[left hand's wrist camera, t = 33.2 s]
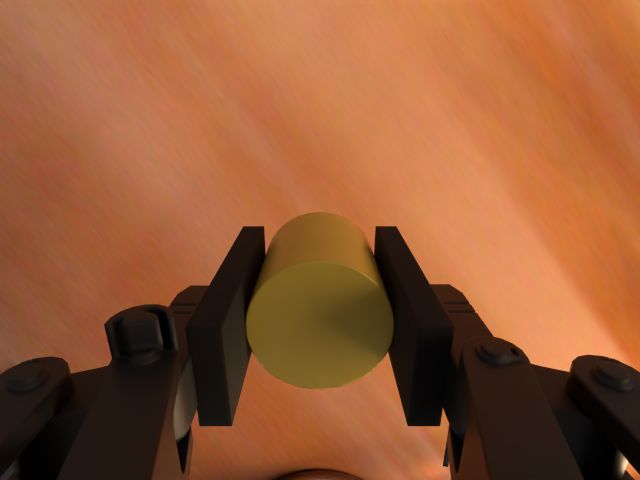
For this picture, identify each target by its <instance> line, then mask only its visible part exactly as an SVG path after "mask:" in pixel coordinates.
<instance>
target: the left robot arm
mask: <svg viewBox="0 0 640 480" xmlns="http://www.w3.org/2000/svg"><path fill="white" fill-rule="evenodd" d="M265 256H266V254H265V236H264V226H244V227H243V228H242V230H241V232H240V233H239V235H238V237H237V239H236V240H235V242H234V244H233V246H232V247H231V249H230V251H229V252H228V254H227V256H226V258H225V259H224V261H223V263H222V264H221V266H220V268H219V270H218V271H217V273H216V275H215V277H214V278H213V280H212V282H211V283H210V285H209V286H189V287H188V288H186V289H185V290H183V291H182V292H180V293H179V294H177V296H176V297H175V299H174V300H173V301H172V303H171V306H169V307H166V306H162V305H158V304H148V305H141V306H135V307H132V308H129V309H126V310H123V311H121V312H119V313H117V314H116V315H114V316H112V317H111V318H110V319H109V320H108V321H107V322H106V323H105V324H104V326H105V330H106V335H107V339H108V343H109V347H110V351H111V356H112V360H111V362H110V364H109V365H108V366H105V367H101V368H97V369H92V370H87V371H82V372H77V373H72V374H71V372H70V369H69V365H68V363H67V362H66V361H65V360H64V359H62V358H57V357H43V358H36V359H32V360H28V361H25V362H22V363H20V364H18V365H16V366H14V367H12V368H10V369H8V370H6V371H5V372H3V373H2V374H0V477H1V476H2V475H3V473H4V472H5V471H6V470H7V469H8V468H9V466H10V465H11V464H12V465H13V468H14V470H15V472H14V473H13V474H12V475H11V476H10V477H9V479H8V480H189V473H190V464H191V456H192V447H193V437H192V430H191V423H192V420H193V418H194V415H195V413H196V410H197V411H198V418H199V425H200V426H232V424H233V420H234V416H235V412H236V409H237V405H238V401H239V397H240V393H241V390H242V386H243V382H244V378H245V375H246V371H247V367H248V363H249V360H250V356H251V352H252V350H251V348H250V346H249V343H248V340H247V337H246V327H245V319H246V312H247V309H248V306H249V303H250V300H251V297H252V294H253V291H254V288H255V285H256V282H257V279H258V277H259V274H260V271H261V268H262V265H263V262H264V259H265ZM374 257H375V260H376V263H377V266H378V269H379V272H380V275H381V278H382V281H383V283H384V286H385V289H386V292H387V295H388V298H389V301H390V304H391V307H392V310H393V314H394V335H393V339H392V342H391V345H390V348H389V350H388V353H389V357H390V361H391V364H392V368H393V372H394V376H395V379H396V383H397V387H398V391H399V394H400V398H401V402H402V406H403V410H404V413H405V417H406V421H407V425H408V426H440V423H441V416H442V410H443V409H444V411H445V414H446V416H447V419H448V422H449V430H448V436H447V443H446V449H445V455H444V462H443V466H446V467H448V464H450V472H451V480H634V479H633V478H632V477H631V476H630V474H629V473H628V472H627V471H626V470H625V469H626V467H627V464H628V462H629V463H630V464H631V465H632V466H633V467H634V469H635V470H636V471H637V472H638V473H639V474H640V372H638V371H637V370H635V369H634V368H632V367H630V366H628V365H626V364H624V363H621V362H620V361H618V360H615V359H612V358H608V357H604V356H595V355H584V356H579V357H577V358H576V359H574V360H573V361H572V364H571V368H570V371H569V372H566V371H561V370H556V369H551V368H546V367H542V366H538V365H534V364H531V363H530V361H529V359H528V357H527V356H526V355H525V353H524V352H523V351H522V350H521V349H520V348H518V347H517V346H515V345H514V344H512V343H510V342H508V341H505V340H503V339H501V338H496V337H494V336H493V335H492V334H491V332H490V331H489V329H488V328H487V327H486V325H485V324H484V322H483V321H482V320H481V318H480V317H479V316H478V314H477V313H475V310H474V309H473V307H472V306H471V304H469V302H468V300H467V299H466V297H465V296H464V295H463V293H462V292H460V291H459V290H457V289H456V288H454V287H452V286H451V285H449V284H429V282H428V280H427V279H426V277H425V275H424V274H423V272H422V270H421V268H420V267H419V265H418V263H417V262H416V260H415V258H414V256H413V255H412V253H411V251H410V249H409V248H408V246H407V244H406V243H405V241H404V239H403V237H402V236H401V234H400V232H399V230H398V229H397V227H396V226H376V231H375V250H374ZM279 480H362V479H360V478H357V477H355V476H352V475H349V474H345V473H341V472H335V471H307V472H301V473H296V474H293V475H289V476H286V477H284V478H282V479H279Z"/></svg>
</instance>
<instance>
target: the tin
mask: <svg viewBox="0 0 640 480" xmlns="http://www.w3.org/2000/svg"><path fill="white" fill-rule="evenodd" d="M245 327H246V337H247V340H248V343H249V346H250V348H251V350H252V352H253V354H254V356H255V357H256V359H257V360H258V361H259V363H260V364H261V365H262V366H263V367H264V368H265V369H266V370H267V371H269V372H270V373H271V374H272V375H274V376H275V377H277V378H279V379H281V380H282V381H284V382H287V383H289V384H292V385H295V386H299V387H303V388H309V389H331V388H337V387H341V386H345V385H348V384H350V383H353V382H355V381H357V380H359V379H361V378H363V377H364V376H366V375H367V374H369V373H370V372H371V371H372V370H373V369H375V368H376V367H377V366H378V365H379V363H380V362H381V361H382V360H383V358H384V357H385V355H386V354H387V352H388V350H389V348H390V345H391V342H392V339H393V335H394V314H393V310H392V307H391V304H390V301H389V298H388V295H387V292H386V289H385V286H384V283H383V281H382V278H381V275H380V272H379V269H378V266H377V263H376V260H375V257H374V255H373V252H372V249H371V246H370V243H369V241H368V239H367V238H366V236H365V235H364V233H363V232H362V231H361V230H360V229H359V227H357V226H356V225H355V224H354V223H352V222H351V221H349V220H348V219H346V218H344V217H341V216H339V215H335V214H331V213H323V212H316V213H309V214H304V215H301V216H298V217H296V218H294V219H292V220H290V221H289V222H287V223H286V224H285V225H283V226H282V227H281V228H280V229H279V230H278V232H277V233H276V234H275V235H274V237H273V239H272V240H271V243H270V245H269V248H268V250H267V253H266V256H265V259H264V262H263V265H262V268H261V271H260V274H259V277H258V279H257V282H256V285H255V288H254V291H253V294H252V297H251V300H250V303H249V306H248V309H247V312H246V319H245Z"/></svg>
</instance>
